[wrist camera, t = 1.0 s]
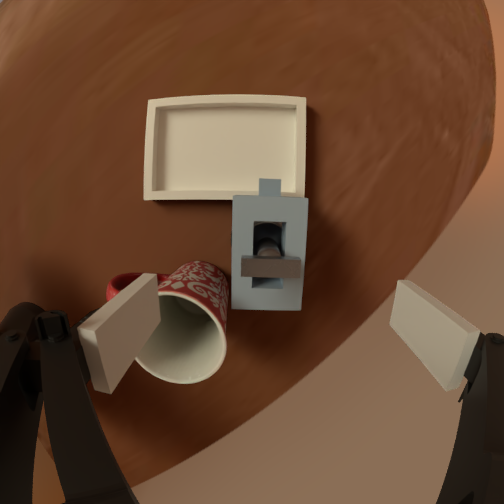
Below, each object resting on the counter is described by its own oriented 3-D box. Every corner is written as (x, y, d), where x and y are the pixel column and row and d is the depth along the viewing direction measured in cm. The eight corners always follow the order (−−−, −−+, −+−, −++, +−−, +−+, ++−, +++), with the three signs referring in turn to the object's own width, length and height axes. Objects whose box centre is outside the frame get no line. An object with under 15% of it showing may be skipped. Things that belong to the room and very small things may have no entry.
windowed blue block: (295, 295, 30) (300, 310, 26) (234, 293, 30) (231, 308, 26) (301, 181, 27) (309, 179, 23) (236, 178, 27) (233, 176, 23)
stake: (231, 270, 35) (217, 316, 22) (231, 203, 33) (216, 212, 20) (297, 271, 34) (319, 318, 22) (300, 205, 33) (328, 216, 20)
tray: (150, 199, 33) (143, 200, 31) (154, 104, 30) (148, 100, 28) (301, 201, 33) (304, 202, 31) (302, 103, 30) (305, 97, 28)
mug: (250, 274, 35) (246, 325, 21) (217, 332, 36) (200, 399, 23) (158, 226, 34) (105, 248, 20) (133, 287, 35) (81, 333, 22)
